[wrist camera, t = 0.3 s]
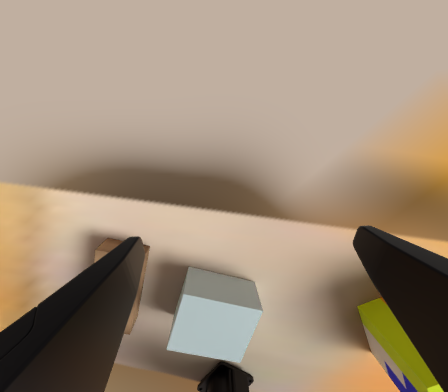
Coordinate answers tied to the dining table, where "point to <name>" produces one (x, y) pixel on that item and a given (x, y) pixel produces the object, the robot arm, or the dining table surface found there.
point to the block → (215, 316)
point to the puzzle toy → (395, 349)
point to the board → (110, 245)
